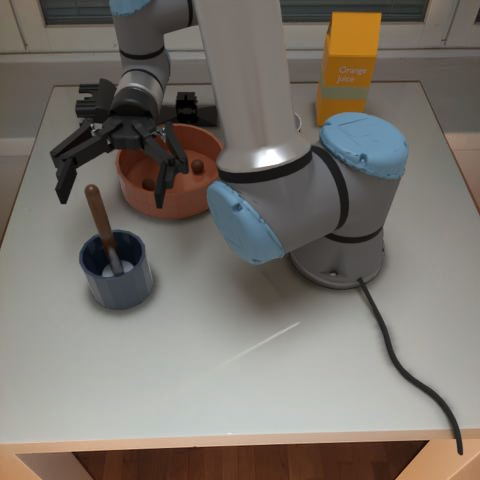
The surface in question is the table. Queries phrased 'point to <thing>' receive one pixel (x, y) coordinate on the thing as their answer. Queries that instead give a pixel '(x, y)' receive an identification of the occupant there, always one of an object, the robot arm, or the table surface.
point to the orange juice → (347, 63)
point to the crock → (123, 286)
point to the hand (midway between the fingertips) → (109, 199)
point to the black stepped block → (188, 112)
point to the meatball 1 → (148, 184)
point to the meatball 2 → (197, 165)
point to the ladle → (105, 233)
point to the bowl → (185, 186)
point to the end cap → (95, 101)
